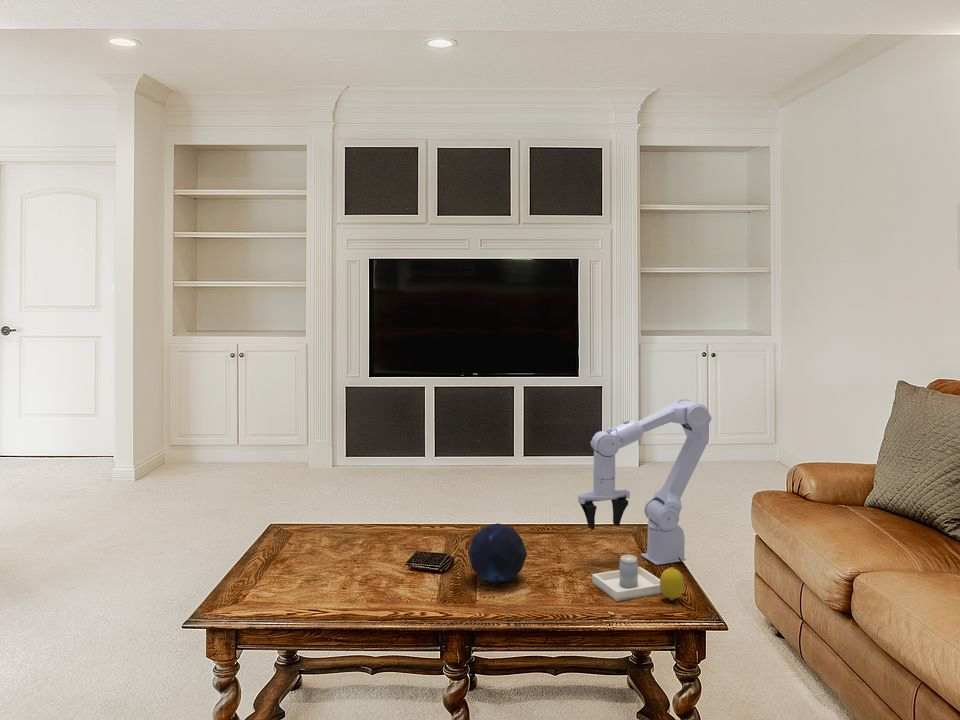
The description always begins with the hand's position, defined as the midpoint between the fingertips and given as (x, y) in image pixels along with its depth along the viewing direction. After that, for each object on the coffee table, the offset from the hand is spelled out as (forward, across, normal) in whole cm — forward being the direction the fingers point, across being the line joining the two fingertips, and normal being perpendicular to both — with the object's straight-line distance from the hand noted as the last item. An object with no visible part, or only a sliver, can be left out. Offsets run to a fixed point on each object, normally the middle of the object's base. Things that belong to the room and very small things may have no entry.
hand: (603, 526), depth 199 cm
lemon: (+10, -3, +27) cm, 29 cm away
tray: (+10, +2, +17) cm, 20 cm away
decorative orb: (+10, +31, +1) cm, 33 cm away
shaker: (+9, +2, +17) cm, 19 cm away
